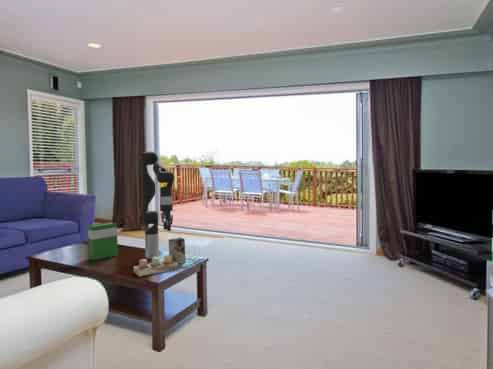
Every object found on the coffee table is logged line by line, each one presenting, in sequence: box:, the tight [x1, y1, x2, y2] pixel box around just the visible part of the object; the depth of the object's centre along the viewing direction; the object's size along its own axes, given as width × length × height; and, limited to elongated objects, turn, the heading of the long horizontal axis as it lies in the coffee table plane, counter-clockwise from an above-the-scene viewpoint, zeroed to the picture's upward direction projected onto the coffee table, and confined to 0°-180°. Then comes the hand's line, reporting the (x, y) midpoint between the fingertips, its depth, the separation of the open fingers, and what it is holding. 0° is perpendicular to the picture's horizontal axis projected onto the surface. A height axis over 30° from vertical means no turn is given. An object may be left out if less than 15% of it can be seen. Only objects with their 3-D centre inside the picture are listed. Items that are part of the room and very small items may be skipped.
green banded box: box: [87, 221, 119, 261], centre depth 266 cm, size 18×7×24 cm, turn 137°
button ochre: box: [163, 254, 172, 264], centre depth 238 cm, size 5×5×5 cm
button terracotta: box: [138, 258, 148, 269], centre depth 229 cm, size 5×5×5 cm
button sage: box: [151, 256, 161, 267], centre depth 233 cm, size 5×5×5 cm
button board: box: [132, 260, 179, 277], centre depth 234 cm, size 11×25×4 cm, turn 124°
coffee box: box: [168, 237, 186, 264], centre depth 250 cm, size 9×6×16 cm
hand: (167, 230), depth 233 cm, fingers open, 5 cm apart
